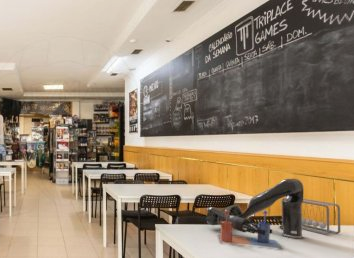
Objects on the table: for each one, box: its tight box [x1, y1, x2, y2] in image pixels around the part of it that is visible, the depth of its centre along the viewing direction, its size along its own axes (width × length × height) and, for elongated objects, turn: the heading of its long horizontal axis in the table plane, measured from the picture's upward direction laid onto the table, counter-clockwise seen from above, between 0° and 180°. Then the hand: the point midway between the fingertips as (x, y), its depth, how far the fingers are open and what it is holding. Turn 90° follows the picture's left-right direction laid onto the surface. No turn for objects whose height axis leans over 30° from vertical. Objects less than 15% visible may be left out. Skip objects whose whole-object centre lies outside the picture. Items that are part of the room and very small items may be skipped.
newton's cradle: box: [281, 197, 341, 236], centre depth 214 cm, size 30×10×18 cm, turn 18°
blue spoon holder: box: [256, 210, 271, 243], centre depth 181 cm, size 6×6×17 cm
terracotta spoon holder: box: [220, 210, 233, 243], centre depth 182 cm, size 6×6×17 cm
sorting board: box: [218, 233, 282, 249], centre depth 183 cm, size 16×28×1 cm, turn 69°
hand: (268, 232), depth 179 cm, fingers closed on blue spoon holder, 5 cm apart
